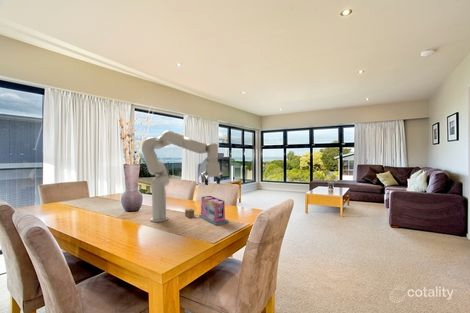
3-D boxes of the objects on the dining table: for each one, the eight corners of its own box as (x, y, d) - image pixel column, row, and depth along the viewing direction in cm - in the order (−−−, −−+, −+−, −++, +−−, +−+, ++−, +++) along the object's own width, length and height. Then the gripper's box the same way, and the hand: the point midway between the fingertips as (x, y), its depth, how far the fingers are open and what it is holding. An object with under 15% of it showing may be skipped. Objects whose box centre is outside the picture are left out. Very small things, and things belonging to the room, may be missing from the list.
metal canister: (200, 213, 183) (199, 203, 183) (205, 212, 186) (205, 202, 186) (202, 214, 179) (202, 204, 179) (208, 213, 182) (208, 203, 181)
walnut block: (185, 216, 174) (185, 209, 174) (191, 215, 177) (191, 208, 177) (188, 217, 170) (187, 211, 170) (194, 216, 173) (194, 210, 173)
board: (199, 217, 172) (199, 215, 172) (210, 214, 178) (210, 212, 178) (215, 225, 152) (215, 223, 152) (228, 222, 158) (228, 220, 158)
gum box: (226, 221, 157) (226, 201, 156) (216, 223, 153) (215, 203, 152) (210, 213, 177) (210, 195, 177) (201, 214, 173) (201, 196, 172)
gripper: (204, 161, 156) (204, 186, 156) (225, 160, 166) (225, 184, 166) (199, 160, 162) (199, 184, 162) (219, 160, 172) (219, 182, 172)
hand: (212, 184), depth 164 cm, fingers open, 9 cm apart
